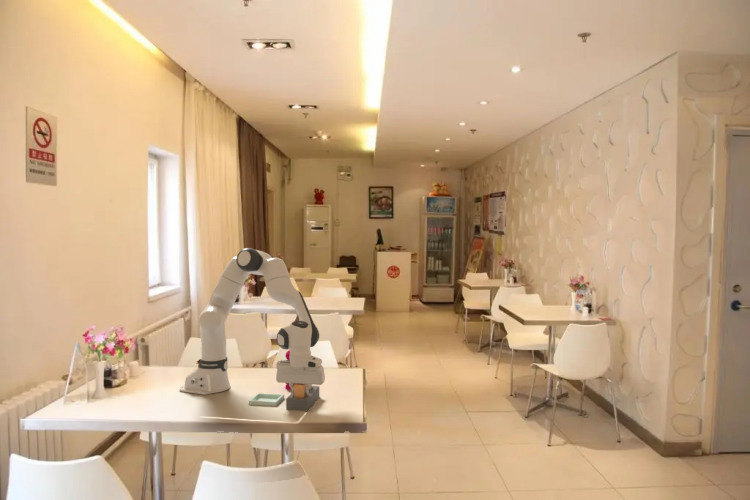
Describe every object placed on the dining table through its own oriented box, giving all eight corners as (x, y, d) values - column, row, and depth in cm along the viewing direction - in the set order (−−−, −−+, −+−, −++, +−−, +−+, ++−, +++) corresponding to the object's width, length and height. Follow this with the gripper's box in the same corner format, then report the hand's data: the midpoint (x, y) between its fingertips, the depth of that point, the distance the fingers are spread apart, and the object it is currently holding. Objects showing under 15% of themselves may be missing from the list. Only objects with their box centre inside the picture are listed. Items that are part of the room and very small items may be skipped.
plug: (294, 401, 206) (294, 382, 206) (297, 398, 210) (297, 379, 210) (303, 401, 206) (303, 383, 205) (306, 398, 210) (306, 380, 209)
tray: (248, 405, 209) (248, 400, 209) (257, 397, 219) (257, 392, 219) (275, 407, 208) (275, 402, 207) (284, 399, 217) (284, 394, 217)
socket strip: (286, 410, 204) (286, 398, 204) (299, 396, 221) (299, 385, 221) (307, 412, 202) (307, 400, 202) (319, 397, 220) (319, 386, 220)
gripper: (273, 361, 206) (273, 394, 206) (321, 363, 202) (321, 397, 203) (279, 357, 212) (279, 389, 213) (325, 359, 209) (325, 392, 209)
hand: (300, 393), depth 208 cm, fingers closed on plug, 4 cm apart
